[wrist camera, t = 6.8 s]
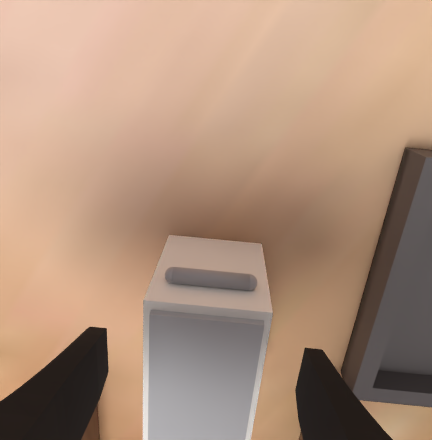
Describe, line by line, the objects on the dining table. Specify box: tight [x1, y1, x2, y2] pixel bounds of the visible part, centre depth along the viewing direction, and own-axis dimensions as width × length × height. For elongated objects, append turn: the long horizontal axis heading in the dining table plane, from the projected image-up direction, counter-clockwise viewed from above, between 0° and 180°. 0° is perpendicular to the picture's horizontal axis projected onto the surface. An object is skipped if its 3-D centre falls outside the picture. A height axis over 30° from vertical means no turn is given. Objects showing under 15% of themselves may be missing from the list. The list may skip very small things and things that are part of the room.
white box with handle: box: [143, 235, 273, 440], centre depth 18 cm, size 5×9×6 cm, turn 175°
